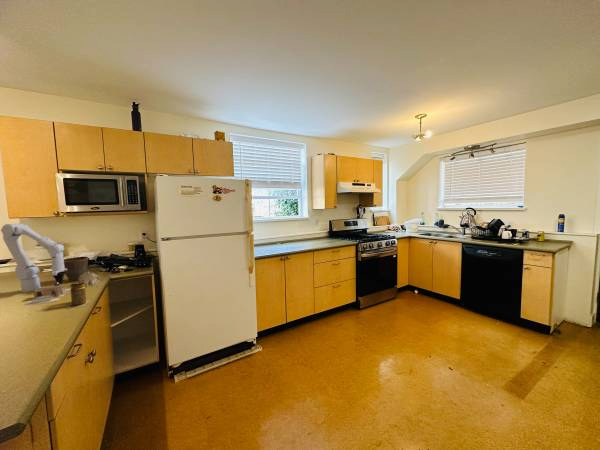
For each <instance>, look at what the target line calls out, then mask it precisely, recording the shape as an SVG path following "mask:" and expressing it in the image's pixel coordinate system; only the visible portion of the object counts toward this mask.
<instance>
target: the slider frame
mask: <svg viewBox="0 0 600 450" xmlns="http://www.w3.org/2000/svg"><path fill="white" fill-rule="evenodd" d="M53 286H61V284H59V281H57V282H56V281H54V282H53ZM64 289H66V286H64V285H63V286H62V291H63V290H64ZM55 296H56V291H55V294H52V295H45V296H43V293H42V294H41V295H39V296H38V297H37V298H35V299H34V300H32V299H31V300H32V301H33V303H36V302H43V301H50V300H52V299H53V298H54V297H55Z"/></svg>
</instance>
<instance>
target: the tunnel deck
mask: <svg viewBox="0 0 600 450" xmlns="http://www.w3.org/2000/svg"><path fill="white" fill-rule="evenodd" d="M62 287H63V285H61V284H60V286H54V285H53V286H46V287H43V288H38V289H37V290H34V291H33V298H32V299H30V300H29V301H27V302H26V303H25V304H23V305H22V306H21V308H23V307H24V308H25V307H30V306H38V305H45V304H51V303H56V302H58V301H59V300H60V299H62V298H63V297H64V296H65V295H66V294H67V293H69V292H70V291H71V287H69V288H65V289H64V290H63V291H62ZM49 290H55V291H56V296H55V297H54V298H53V299H52V300H50V301H43V302H36V303H33V301H32V300H34V299H35V298H37V297H38V296H39V295H41V294H42V291H49Z"/></svg>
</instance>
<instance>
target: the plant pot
mask: <svg viewBox="0 0 600 450" xmlns="http://www.w3.org/2000/svg"><path fill="white" fill-rule="evenodd" d="M88 264H89V257H88V256H76V257H75V256H74V257H68V258H64V267H65V269H67V270H64V271H63V272H66V273H65V276H66V278H67V279H68V281H69V282H70V283H75V282H80V281H79V277H80V276H81V275H82V274H83V273H86V272H87V268H88Z"/></svg>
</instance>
